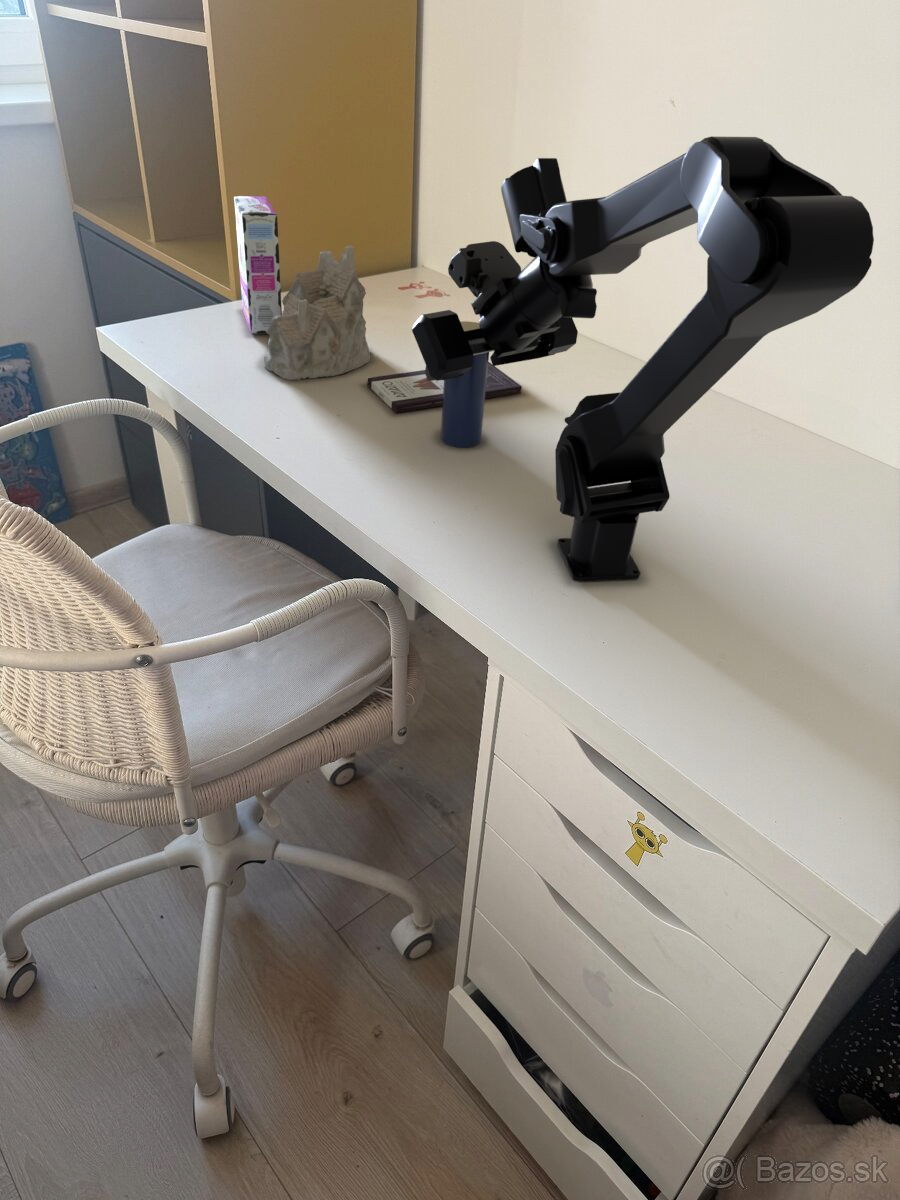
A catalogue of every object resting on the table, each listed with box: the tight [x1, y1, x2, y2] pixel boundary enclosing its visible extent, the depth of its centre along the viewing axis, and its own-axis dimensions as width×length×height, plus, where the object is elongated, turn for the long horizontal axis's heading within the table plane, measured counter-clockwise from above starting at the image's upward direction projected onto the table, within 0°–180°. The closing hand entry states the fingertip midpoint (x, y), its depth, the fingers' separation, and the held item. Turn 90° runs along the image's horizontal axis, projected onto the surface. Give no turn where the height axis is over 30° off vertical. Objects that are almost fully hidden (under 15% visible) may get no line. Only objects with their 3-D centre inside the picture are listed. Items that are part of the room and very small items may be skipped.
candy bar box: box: [233, 195, 283, 335], centre depth 119 cm, size 11×5×16 cm, turn 17°
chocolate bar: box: [367, 361, 522, 414], centre depth 108 cm, size 9×1×18 cm
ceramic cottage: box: [263, 245, 371, 381], centre depth 111 cm, size 16×16×15 cm
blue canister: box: [440, 320, 490, 449], centre depth 94 cm, size 5×5×13 cm
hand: (460, 368), depth 93 cm, fingers open, 9 cm apart
